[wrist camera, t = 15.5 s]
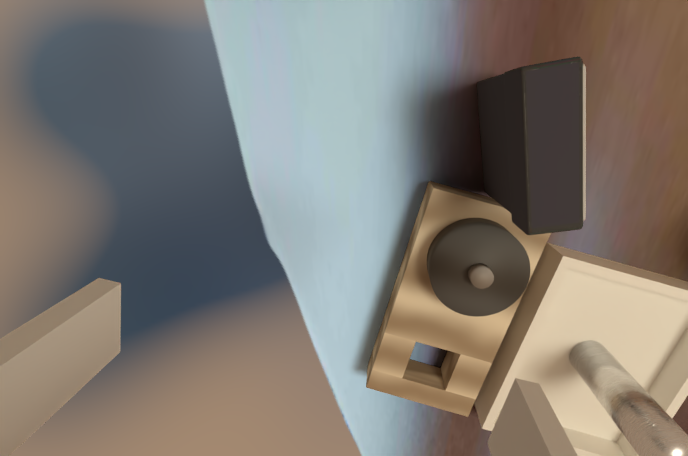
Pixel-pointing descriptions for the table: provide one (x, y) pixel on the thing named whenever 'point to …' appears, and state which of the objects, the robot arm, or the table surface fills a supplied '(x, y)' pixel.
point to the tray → (598, 325)
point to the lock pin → (628, 402)
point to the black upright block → (536, 144)
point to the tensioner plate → (437, 317)
